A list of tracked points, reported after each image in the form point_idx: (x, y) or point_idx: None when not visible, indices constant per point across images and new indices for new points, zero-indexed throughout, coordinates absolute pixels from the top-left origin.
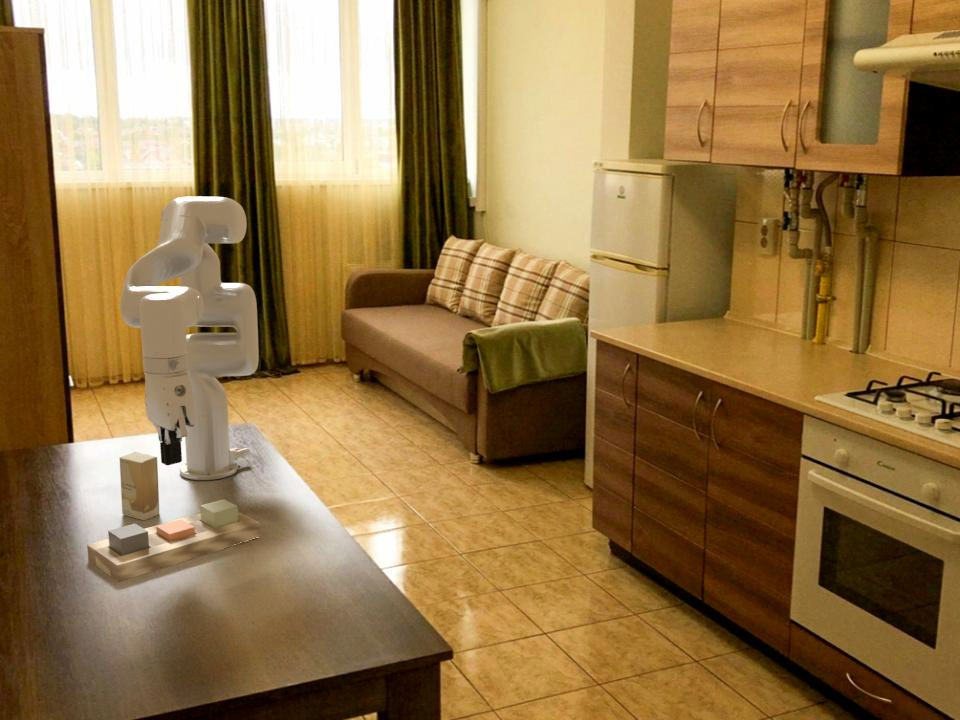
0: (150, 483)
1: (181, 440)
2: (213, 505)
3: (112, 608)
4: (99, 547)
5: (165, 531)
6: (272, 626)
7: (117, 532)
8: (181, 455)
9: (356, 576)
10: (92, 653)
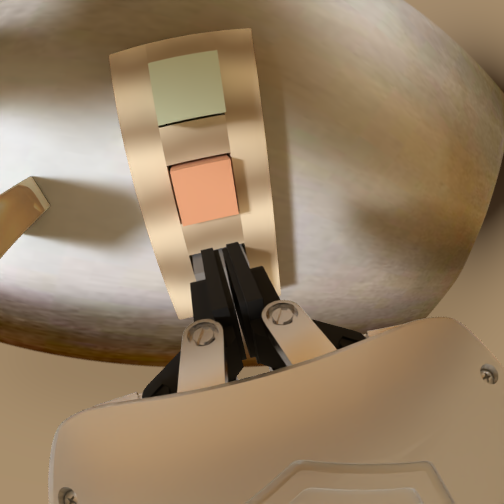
0: (9, 215)
1: (295, 305)
2: (176, 96)
3: (333, 293)
4: None
5: (220, 217)
6: (453, 173)
7: None
8: (242, 253)
9: (429, 38)
10: (387, 311)
